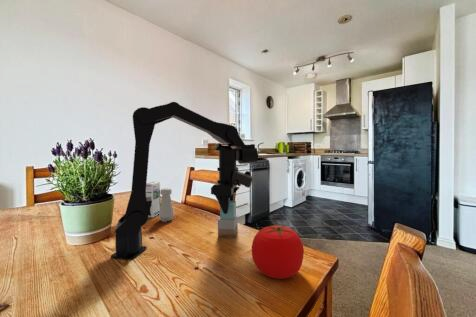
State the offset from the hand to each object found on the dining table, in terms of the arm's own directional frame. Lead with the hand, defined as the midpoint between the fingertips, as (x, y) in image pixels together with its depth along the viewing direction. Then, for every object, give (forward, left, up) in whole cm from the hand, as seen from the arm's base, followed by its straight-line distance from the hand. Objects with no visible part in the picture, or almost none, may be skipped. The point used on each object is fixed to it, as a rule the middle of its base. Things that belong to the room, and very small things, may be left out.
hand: (227, 210), depth 69 cm
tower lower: (0, 0, -8) cm, 8 cm away
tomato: (-19, -16, -8) cm, 26 cm away
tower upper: (0, 0, -5) cm, 5 cm away
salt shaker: (+10, +28, -8) cm, 31 cm away
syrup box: (+15, +38, -8) cm, 42 cm away
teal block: (0, 0, -2) cm, 2 cm away
